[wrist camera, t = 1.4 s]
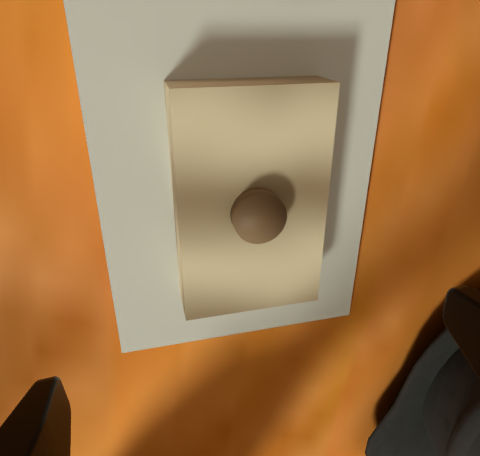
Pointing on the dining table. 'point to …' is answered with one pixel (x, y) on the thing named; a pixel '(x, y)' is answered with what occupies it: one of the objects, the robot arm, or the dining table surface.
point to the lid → (250, 189)
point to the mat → (157, 145)
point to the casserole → (433, 407)
